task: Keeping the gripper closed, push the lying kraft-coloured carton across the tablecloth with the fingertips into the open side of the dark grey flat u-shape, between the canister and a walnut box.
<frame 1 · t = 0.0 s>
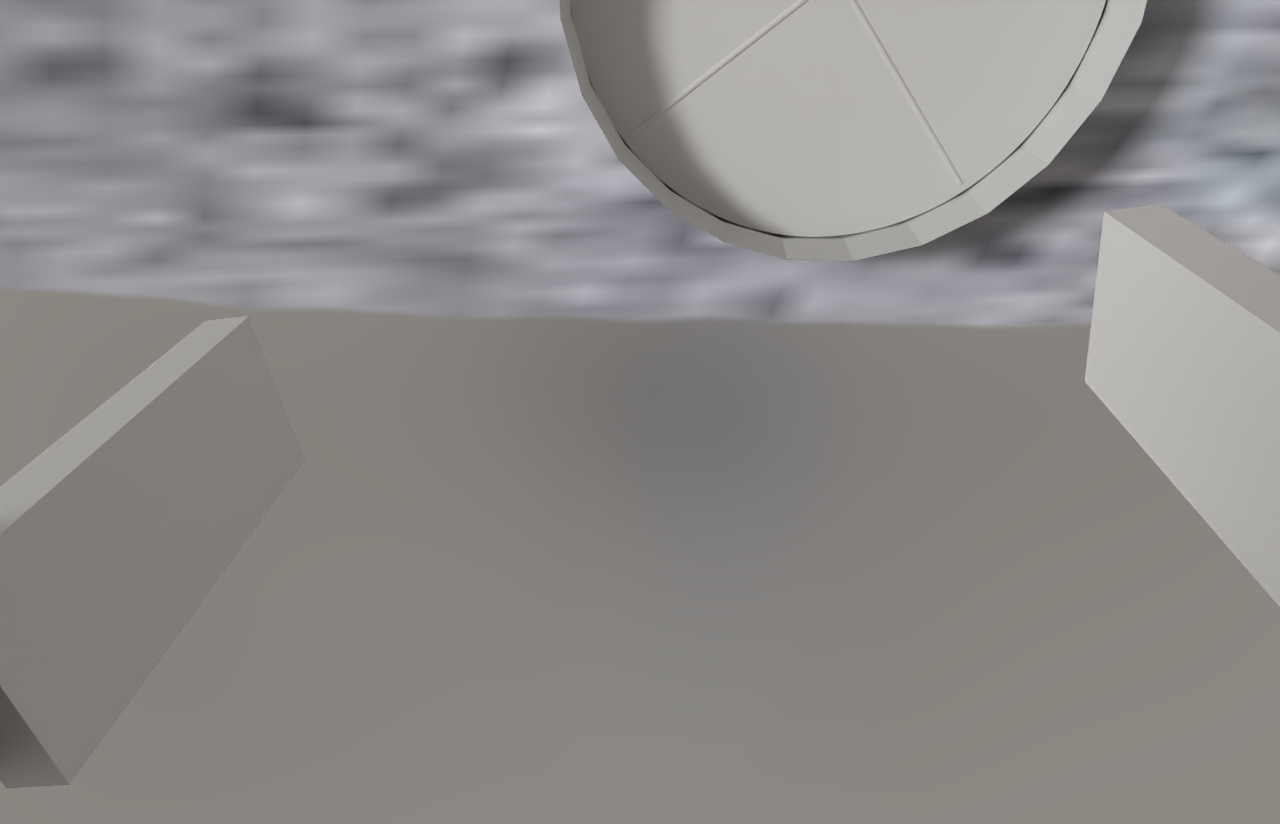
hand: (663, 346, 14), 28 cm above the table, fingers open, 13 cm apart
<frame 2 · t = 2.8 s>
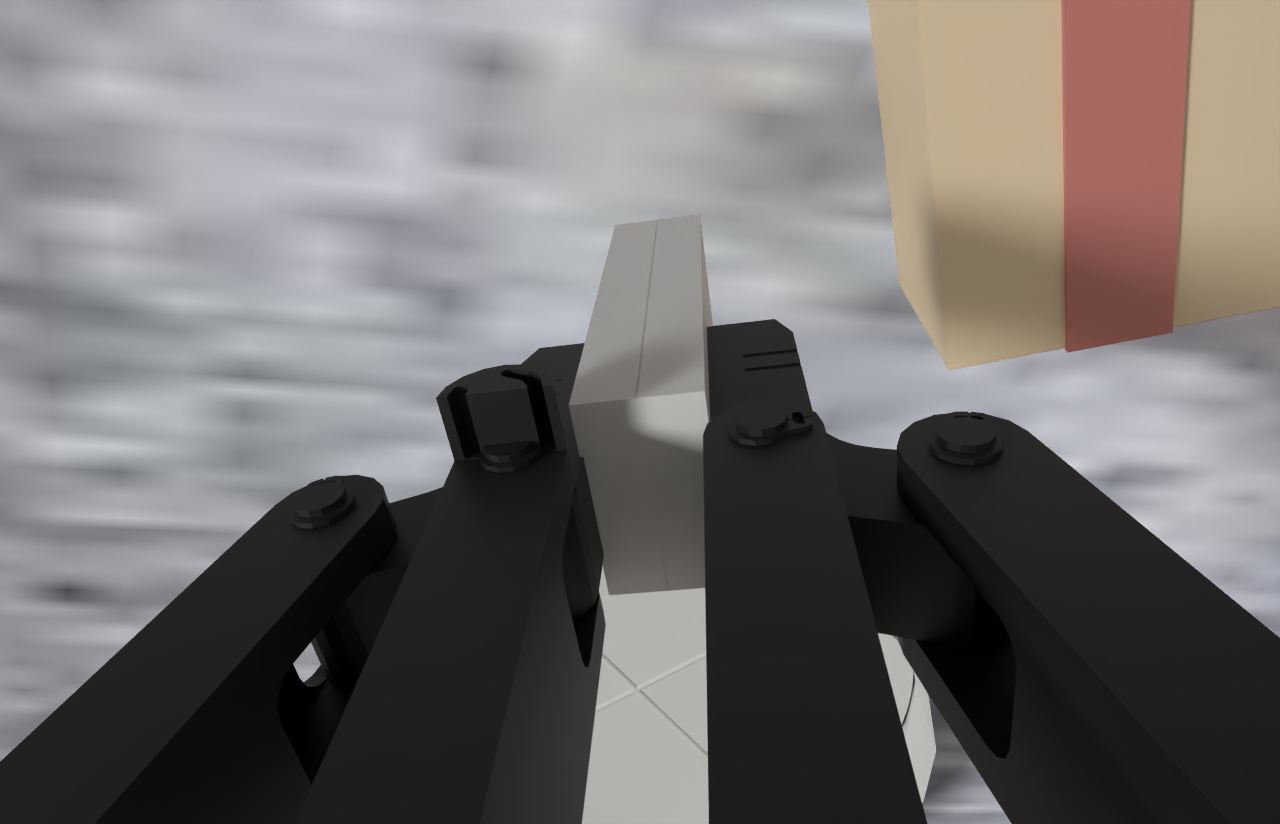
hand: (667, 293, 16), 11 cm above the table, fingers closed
dish: (638, 658, 36), on the table
carton: (1026, 85, 24), on the table
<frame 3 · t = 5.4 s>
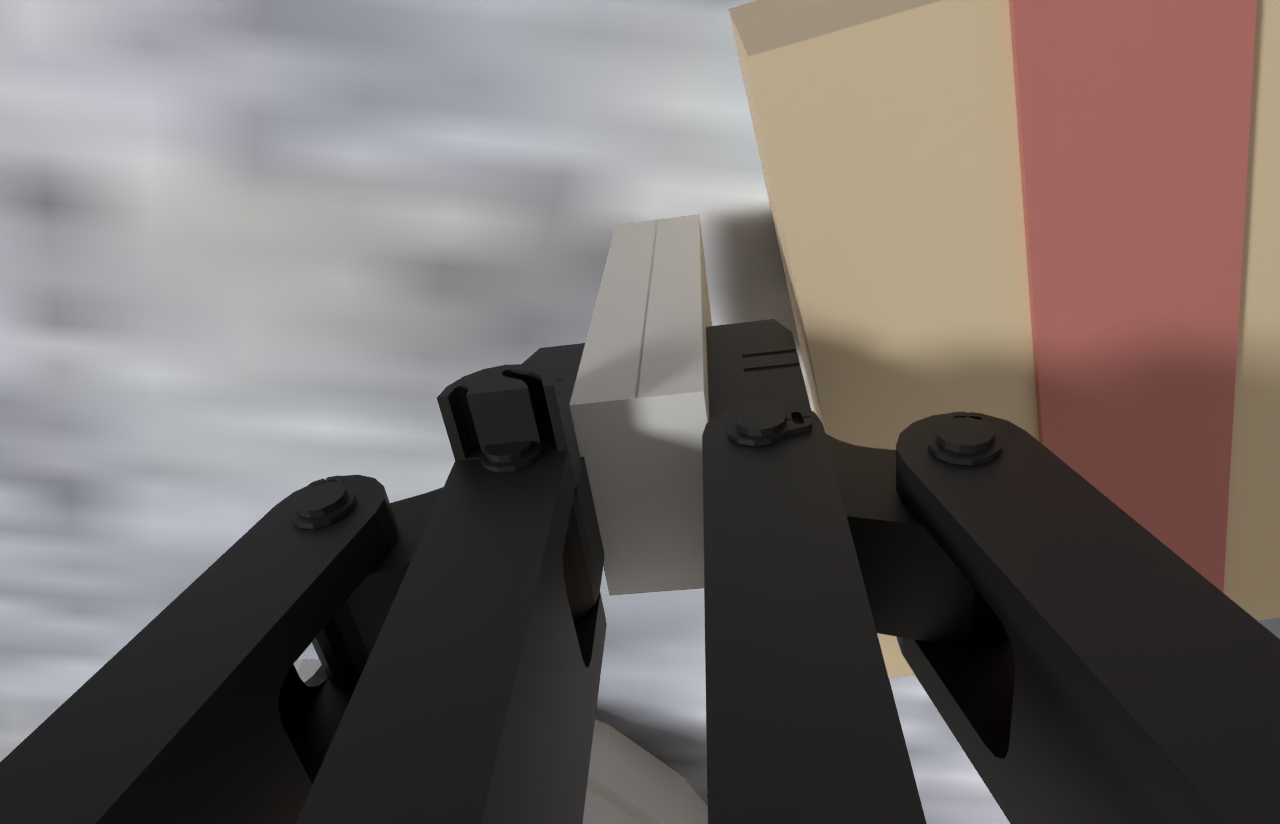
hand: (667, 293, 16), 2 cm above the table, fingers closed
carton: (992, 224, 16), on the table, touching gripper
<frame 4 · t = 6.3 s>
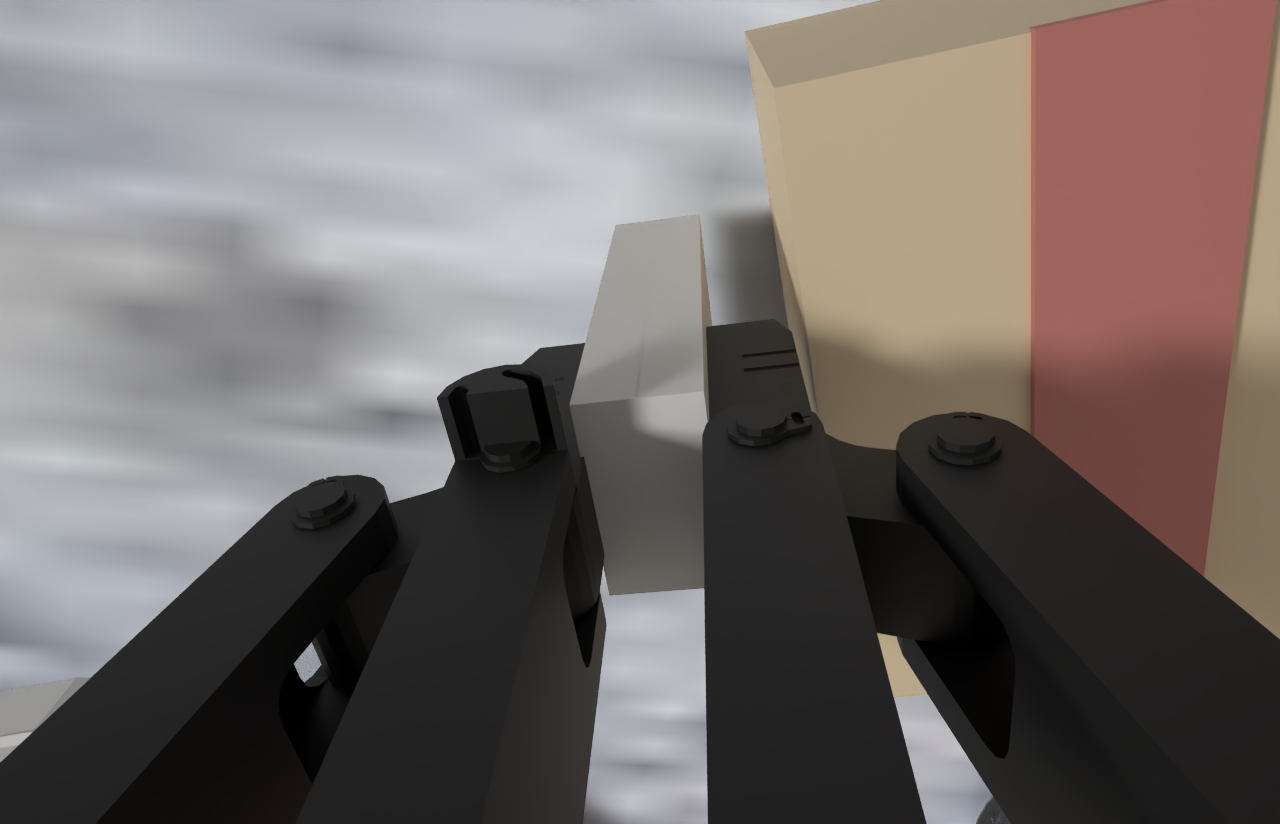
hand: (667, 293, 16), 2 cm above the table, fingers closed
carton: (988, 257, 17), on the table, touching gripper
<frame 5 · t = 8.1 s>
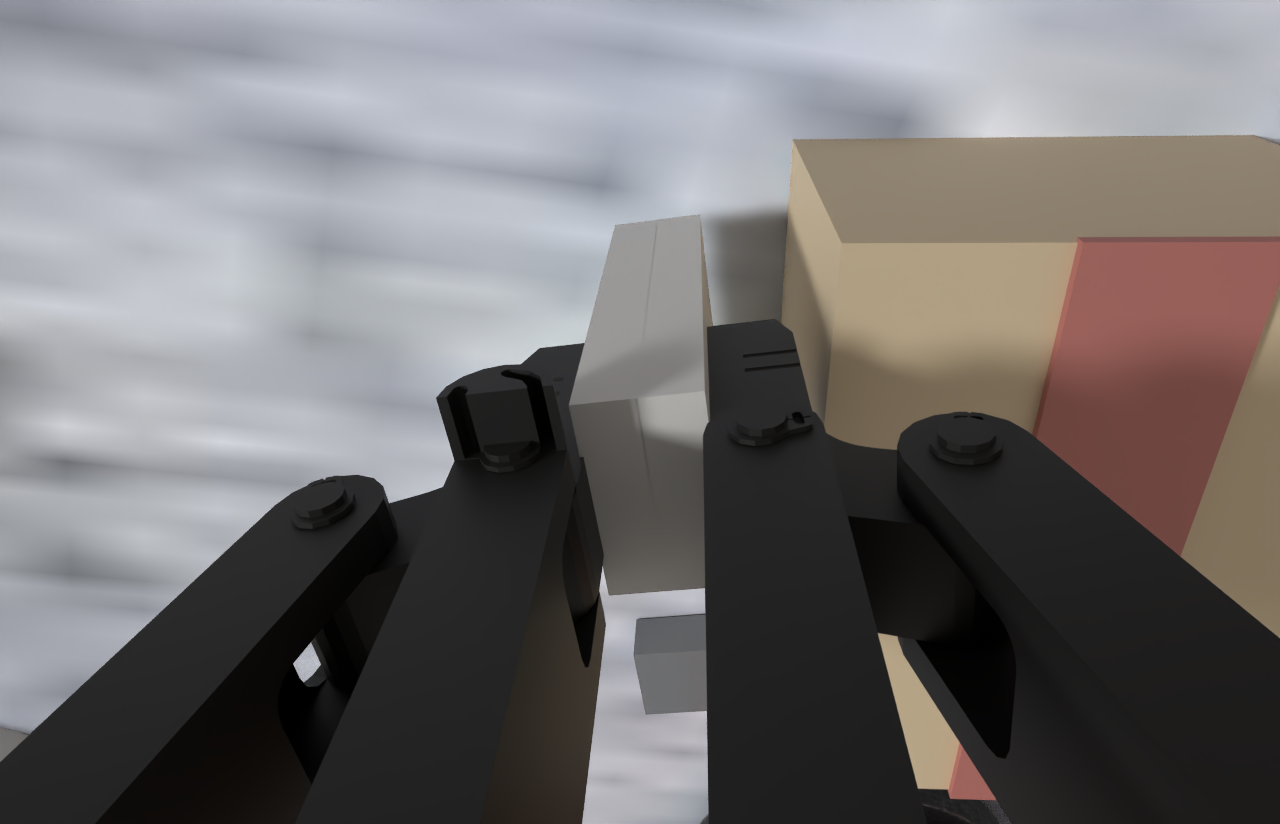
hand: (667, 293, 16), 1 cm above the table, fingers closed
dark grey flat u-shape: (1044, 219, 16), on the table
carton: (969, 382, 18), on the table
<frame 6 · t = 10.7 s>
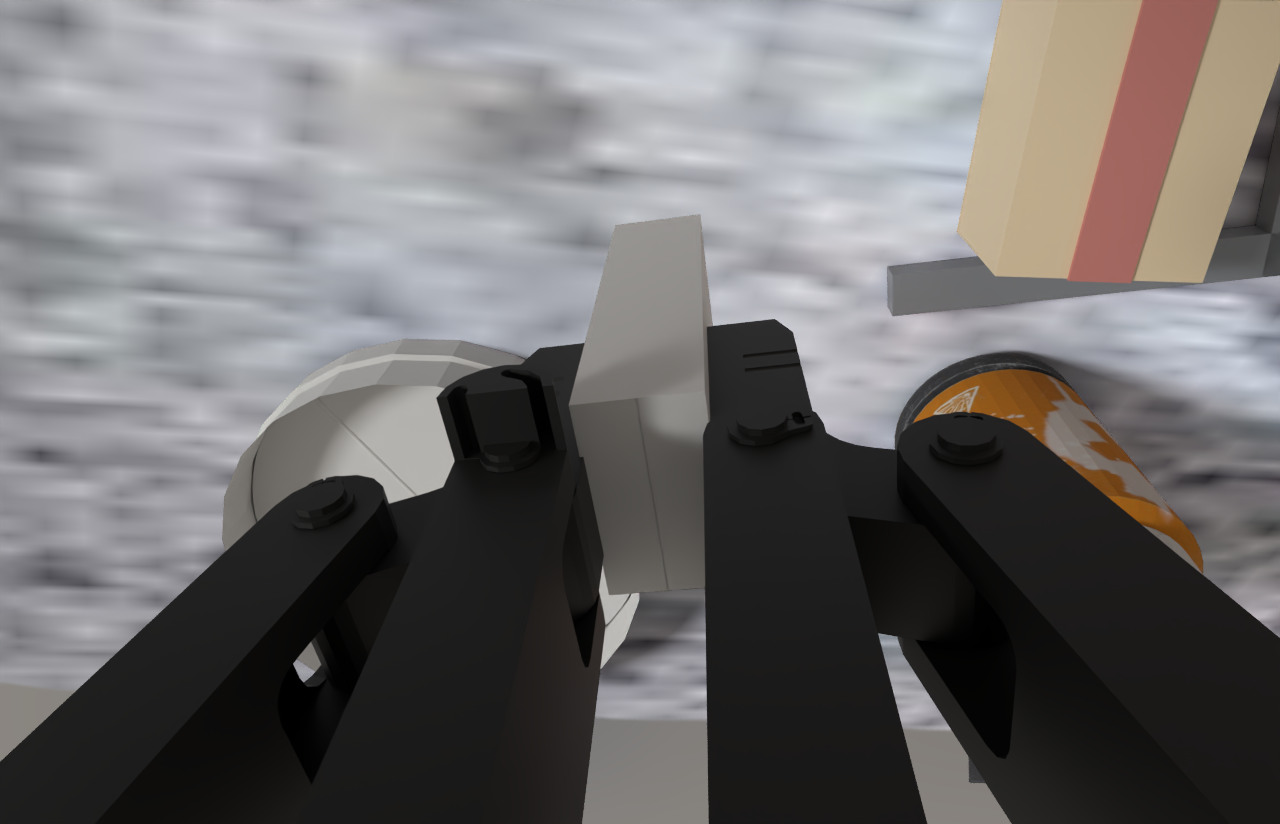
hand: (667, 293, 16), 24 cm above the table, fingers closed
dark grey flat u-shape: (1114, 29, 35), on the table
dish: (456, 511, 49), on the table
canister: (966, 439, 45), on the table
carton: (1073, 118, 37), on the table
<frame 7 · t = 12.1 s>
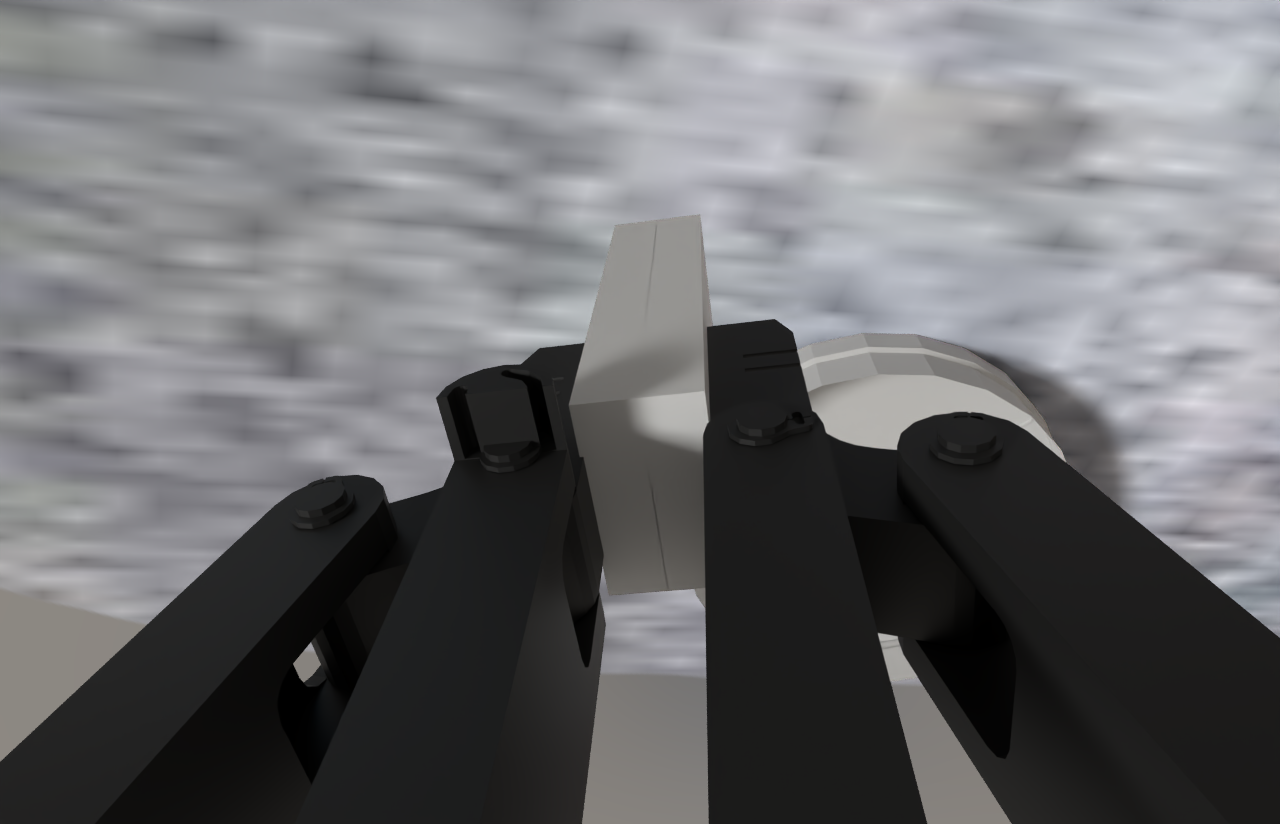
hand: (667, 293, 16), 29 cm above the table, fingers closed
dish: (861, 492, 53), on the table
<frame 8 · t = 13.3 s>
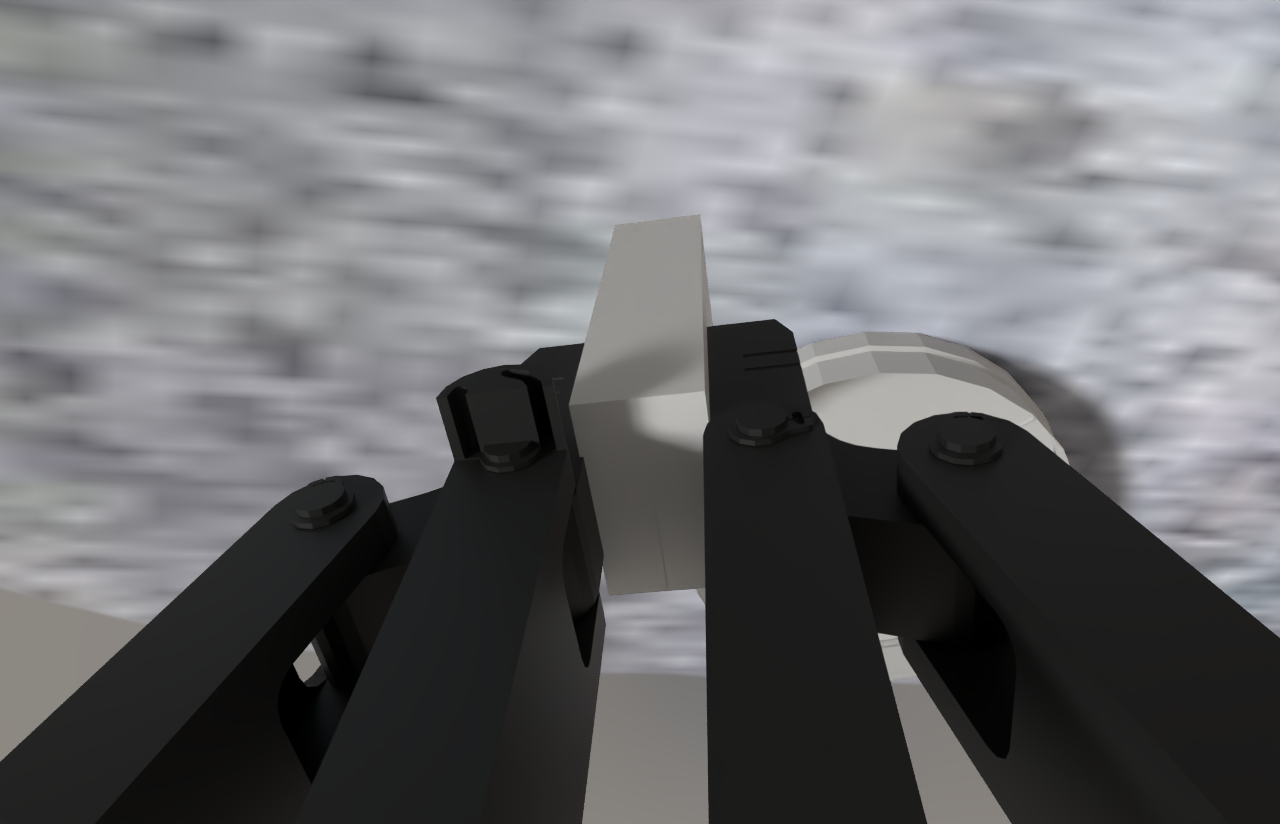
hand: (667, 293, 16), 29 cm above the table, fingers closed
dish: (863, 491, 53), on the table
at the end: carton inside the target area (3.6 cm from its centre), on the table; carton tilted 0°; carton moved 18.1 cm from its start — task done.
